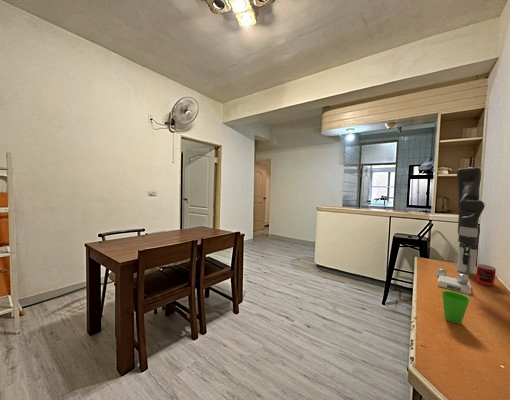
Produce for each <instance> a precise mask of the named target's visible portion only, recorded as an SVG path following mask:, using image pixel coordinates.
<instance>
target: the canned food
mask: <svg viewBox="0 0 510 400" xmlns="http://www.w3.org/2000/svg"><path fill="white" fill-rule="evenodd" d="M496 270H497V269H496V267H494V266H491V265H487V264H483V263H482V264H481V263H479V264H477V267H476V275H475V276H476V277H475V278H476V279H475V281H476V283H477V284H479V285H482V286H484V287H490V288H491V287H494V285H495V280H496Z"/></svg>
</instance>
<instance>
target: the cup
mask: <svg viewBox="0 0 510 400" xmlns="http://www.w3.org/2000/svg"><path fill="white" fill-rule="evenodd" d="M441 294H442V301H443V303H442V304H443V311H444V312H443V313H444V318H446V319H445V320H446V321H447V320H448V321H447V322H449V321H450V322H449V323H451V322H453V323H452V324H454V323H458V324H457V325H460V324H459V323H461V324H462V322H463V319H464V318H465V314H466V311H467V308H468V306H469V302H471V298H470V297H468V296H467V295H464V294H463V293H460V292H458V291H454V290H445V289H444V290H442V291H441Z"/></svg>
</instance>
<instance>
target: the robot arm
mask: <svg viewBox="0 0 510 400" xmlns="http://www.w3.org/2000/svg"><path fill="white" fill-rule="evenodd" d="M481 179H482V171H481V168H480V167H476V166H475V167H463V168H458V169H457V172H456V181H457V189H458V191H457V193H458V195H457V211H458V221H457V222H458V223H457V235H458V239H457V242H458V243H459V245H458V254H457V262H456V263H457V264H456V271H458V272H459V273H462V274H466V275H475V273H476V268H477V267H476V265H477V257H478V249H479V248H478V247H479V238H480V235H481V234H480V233H481V228H480V227H479V226H478V225H479V220H480V217H481V215H482V213H483V211H484V210H485V207H486V206H485V202H484V201H482V200H479V199H480V193H479V192H480V191H479V190H480V186H481V182H482V181H481ZM465 183H468V184H467V185H466V184H465Z"/></svg>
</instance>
